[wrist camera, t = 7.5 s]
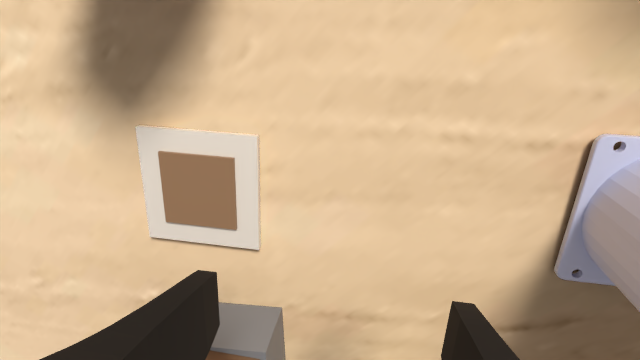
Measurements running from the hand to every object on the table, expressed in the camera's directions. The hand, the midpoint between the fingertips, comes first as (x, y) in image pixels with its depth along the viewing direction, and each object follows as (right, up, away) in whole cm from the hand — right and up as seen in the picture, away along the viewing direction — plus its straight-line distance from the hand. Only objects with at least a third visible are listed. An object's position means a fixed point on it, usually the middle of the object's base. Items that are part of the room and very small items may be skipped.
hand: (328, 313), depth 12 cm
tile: (-7, +4, +11) cm, 14 cm away
